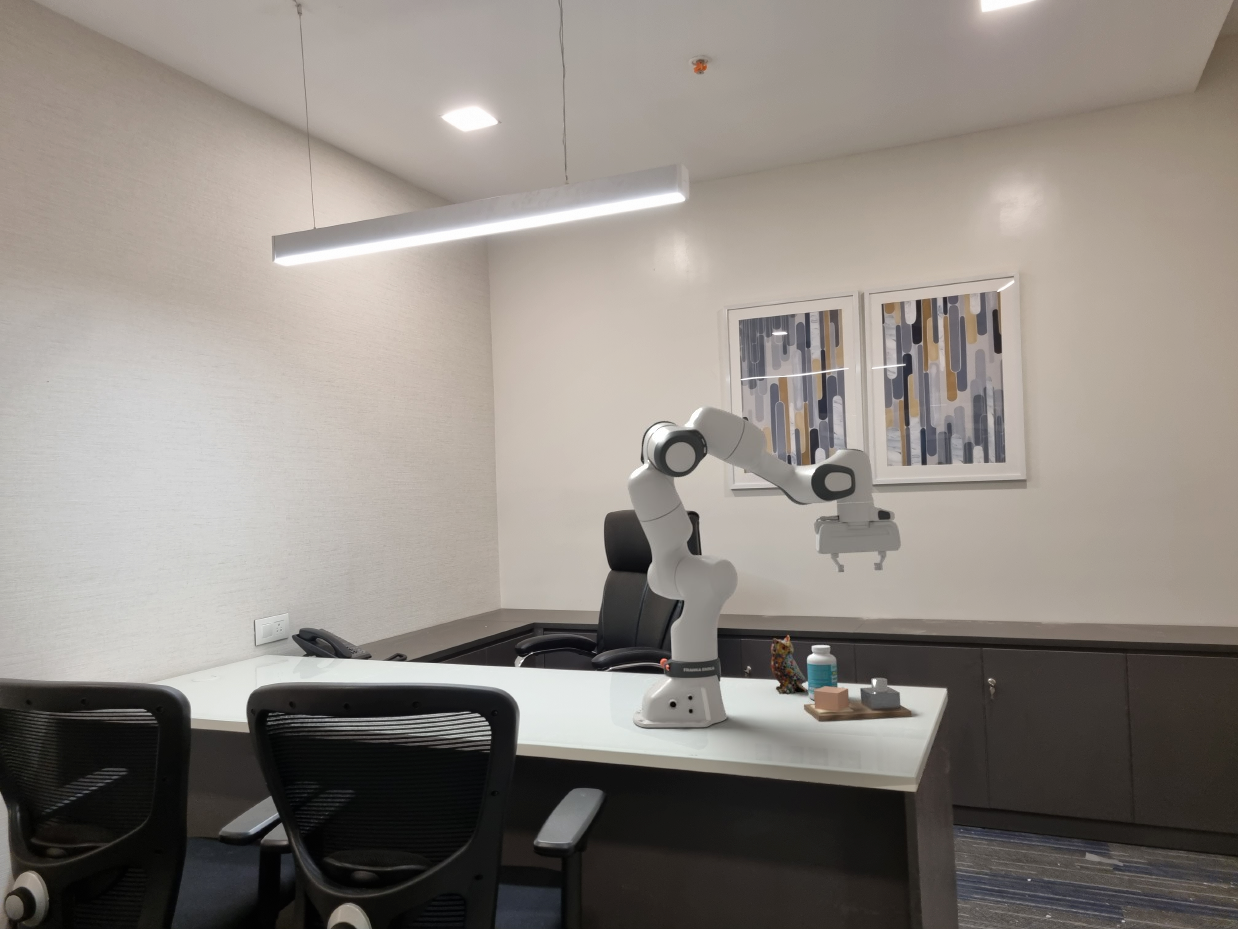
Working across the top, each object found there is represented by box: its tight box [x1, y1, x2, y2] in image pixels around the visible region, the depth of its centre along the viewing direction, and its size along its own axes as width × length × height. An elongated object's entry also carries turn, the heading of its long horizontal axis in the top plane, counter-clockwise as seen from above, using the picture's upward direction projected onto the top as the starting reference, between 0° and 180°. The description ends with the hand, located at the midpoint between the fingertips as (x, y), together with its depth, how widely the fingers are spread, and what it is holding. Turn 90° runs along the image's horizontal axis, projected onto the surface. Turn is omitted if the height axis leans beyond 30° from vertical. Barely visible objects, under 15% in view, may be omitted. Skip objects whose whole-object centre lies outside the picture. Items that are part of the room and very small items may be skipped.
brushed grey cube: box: [859, 677, 901, 710], centre depth 200 cm, size 7×7×6 cm
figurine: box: [770, 634, 808, 695], centre depth 226 cm, size 9×9×15 cm
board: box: [803, 700, 912, 722], centre depth 199 cm, size 22×12×2 cm, turn 94°
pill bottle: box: [806, 644, 839, 701], centre depth 215 cm, size 8×7×14 cm
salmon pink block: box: [813, 686, 850, 711], centre depth 199 cm, size 6×6×4 cm
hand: (859, 571), depth 204 cm, fingers open, 8 cm apart
